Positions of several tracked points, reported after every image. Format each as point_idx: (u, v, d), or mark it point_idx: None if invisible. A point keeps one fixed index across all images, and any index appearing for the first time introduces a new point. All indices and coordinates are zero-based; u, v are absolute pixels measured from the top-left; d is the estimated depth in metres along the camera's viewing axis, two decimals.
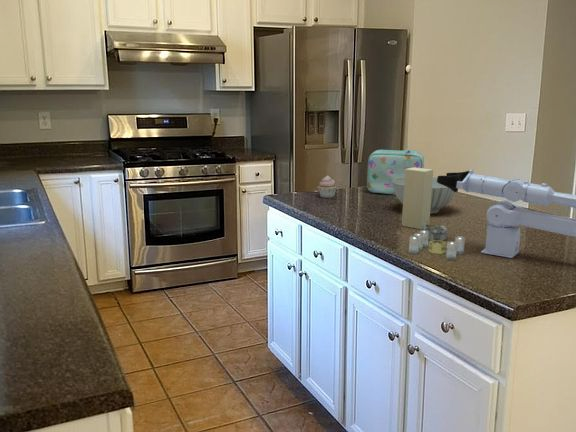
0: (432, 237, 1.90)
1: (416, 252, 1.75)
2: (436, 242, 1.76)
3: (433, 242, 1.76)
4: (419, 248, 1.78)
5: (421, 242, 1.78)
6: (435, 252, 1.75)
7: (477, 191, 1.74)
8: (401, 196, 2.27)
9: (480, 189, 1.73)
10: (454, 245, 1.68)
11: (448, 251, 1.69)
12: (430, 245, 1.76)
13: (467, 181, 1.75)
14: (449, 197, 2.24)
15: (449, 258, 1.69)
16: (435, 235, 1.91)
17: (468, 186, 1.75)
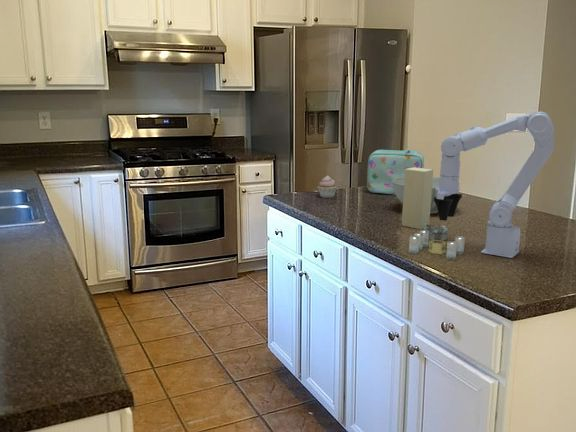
0: (433, 237, 1.90)
1: (416, 252, 1.75)
2: (436, 242, 1.76)
3: (433, 242, 1.76)
4: (419, 248, 1.78)
5: (421, 242, 1.78)
6: (435, 252, 1.75)
7: (453, 181, 1.75)
8: (401, 196, 2.27)
9: (449, 178, 1.74)
10: (454, 245, 1.68)
11: (448, 251, 1.69)
12: (430, 245, 1.76)
13: (443, 191, 1.76)
14: None
15: (449, 258, 1.69)
16: (436, 235, 1.91)
17: (448, 190, 1.75)
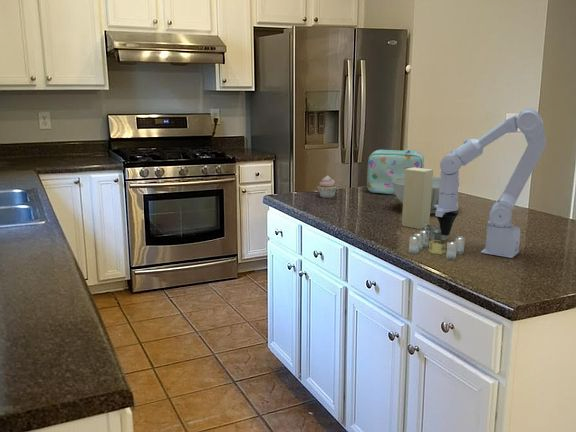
0: (433, 237, 1.90)
1: (416, 252, 1.75)
2: (436, 242, 1.76)
3: (433, 242, 1.76)
4: (419, 248, 1.78)
5: (421, 242, 1.78)
6: (435, 252, 1.75)
7: (452, 198, 1.76)
8: (401, 196, 2.27)
9: (448, 195, 1.76)
10: (454, 245, 1.68)
11: (448, 251, 1.69)
12: (430, 245, 1.76)
13: (441, 208, 1.77)
14: None
15: (449, 258, 1.69)
16: (436, 235, 1.91)
17: (446, 207, 1.77)
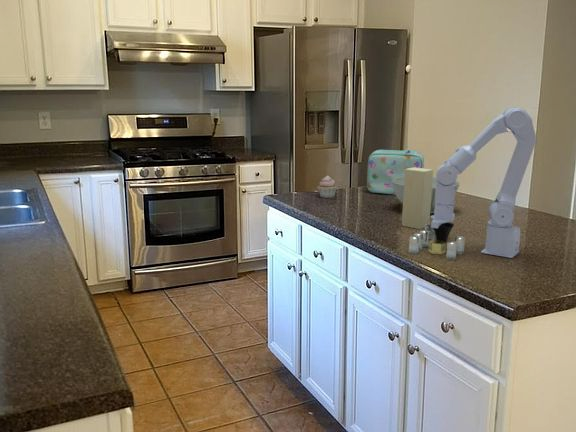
0: (434, 237, 1.90)
1: (416, 252, 1.75)
2: (436, 242, 1.76)
3: (433, 242, 1.76)
4: (419, 248, 1.78)
5: (421, 242, 1.78)
6: (435, 252, 1.75)
7: (448, 209, 1.74)
8: (401, 196, 2.27)
9: (444, 206, 1.74)
10: (454, 245, 1.68)
11: (448, 251, 1.69)
12: (430, 245, 1.76)
13: (437, 219, 1.76)
14: None
15: (449, 258, 1.69)
16: None
17: (442, 218, 1.75)
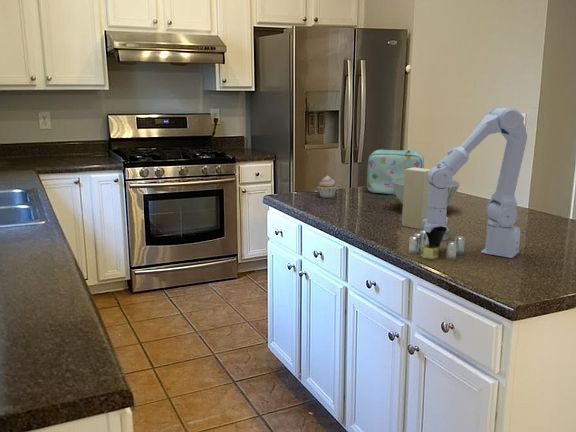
0: None
1: (416, 252, 1.75)
2: (428, 246, 1.71)
3: (425, 246, 1.71)
4: (419, 248, 1.78)
5: (421, 242, 1.78)
6: (427, 256, 1.70)
7: (440, 213, 1.69)
8: (401, 196, 2.27)
9: (437, 210, 1.69)
10: (454, 245, 1.68)
11: (448, 251, 1.69)
12: (422, 249, 1.72)
13: (430, 222, 1.71)
14: (449, 197, 2.24)
15: (449, 258, 1.69)
16: None
17: (435, 222, 1.70)
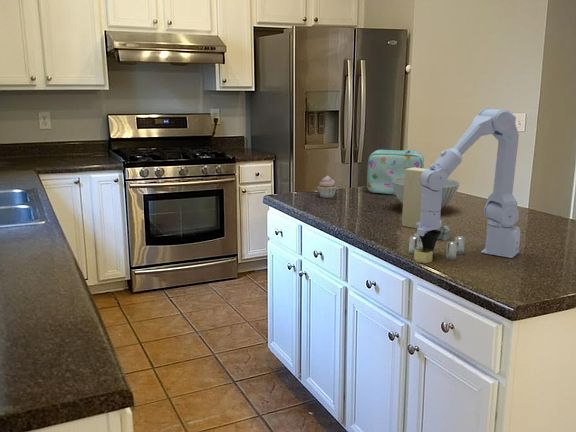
0: None
1: None
2: (421, 250, 1.67)
3: (418, 250, 1.67)
4: None
5: (421, 242, 1.78)
6: (420, 261, 1.66)
7: (434, 216, 1.66)
8: (401, 196, 2.27)
9: (430, 213, 1.65)
10: (454, 245, 1.68)
11: (448, 251, 1.69)
12: (415, 253, 1.68)
13: (423, 226, 1.67)
14: (449, 197, 2.24)
15: (449, 258, 1.69)
16: None
17: (429, 225, 1.66)
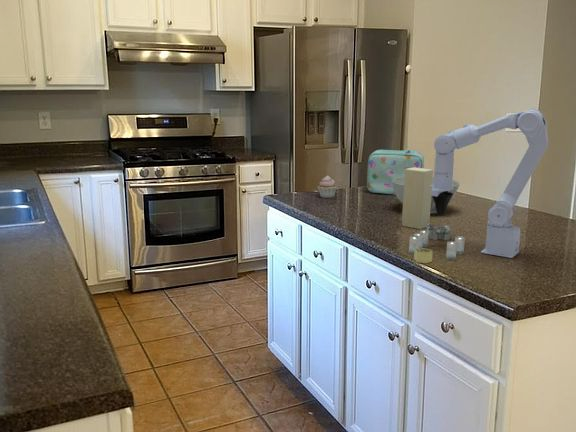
0: (436, 237, 1.90)
1: None
2: (421, 250, 1.67)
3: (418, 250, 1.67)
4: None
5: (421, 242, 1.78)
6: (420, 261, 1.66)
7: (447, 178, 1.77)
8: (401, 196, 2.27)
9: (443, 175, 1.77)
10: (454, 245, 1.68)
11: (448, 251, 1.69)
12: (415, 253, 1.68)
13: (437, 188, 1.78)
14: None
15: (449, 258, 1.69)
16: (439, 235, 1.91)
17: (442, 186, 1.78)
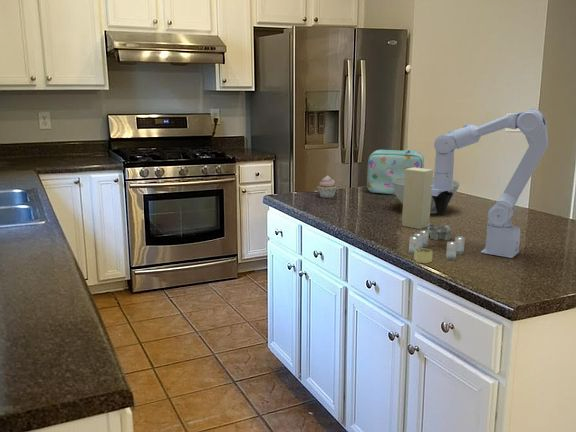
0: (436, 237, 1.90)
1: None
2: (421, 250, 1.67)
3: (418, 250, 1.67)
4: None
5: (421, 242, 1.78)
6: (420, 261, 1.66)
7: (447, 178, 1.77)
8: (401, 196, 2.27)
9: (443, 175, 1.77)
10: (454, 245, 1.68)
11: (448, 251, 1.69)
12: (415, 253, 1.68)
13: (437, 187, 1.79)
14: None
15: (449, 258, 1.69)
16: (439, 235, 1.91)
17: (442, 186, 1.78)
